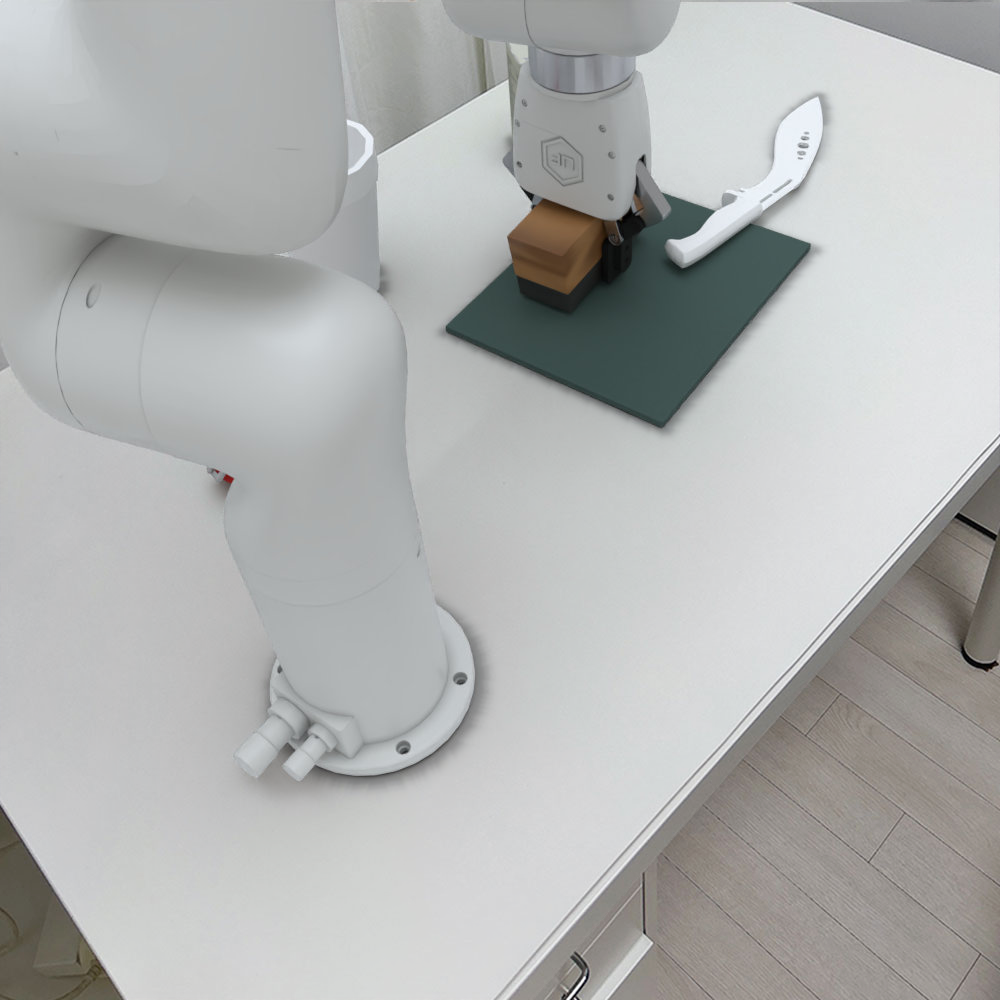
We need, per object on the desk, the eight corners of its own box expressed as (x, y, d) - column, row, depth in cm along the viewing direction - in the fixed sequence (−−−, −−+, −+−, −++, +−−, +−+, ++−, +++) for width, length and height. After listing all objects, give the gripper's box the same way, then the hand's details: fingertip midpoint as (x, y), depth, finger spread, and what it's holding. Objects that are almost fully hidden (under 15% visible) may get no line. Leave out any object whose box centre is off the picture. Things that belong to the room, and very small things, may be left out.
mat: (662, 428, 80) (662, 422, 80) (445, 331, 89) (445, 326, 88) (810, 249, 92) (811, 243, 91) (606, 178, 100) (606, 173, 100)
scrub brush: (571, 313, 87) (561, 256, 82) (518, 293, 90) (506, 236, 85) (652, 221, 92) (647, 161, 87) (600, 204, 94) (592, 145, 90)
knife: (817, 87, 106) (889, 113, 102) (814, 103, 107) (885, 129, 103) (613, 221, 92) (688, 256, 88) (613, 238, 93) (687, 273, 89)
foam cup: (421, 274, 93) (399, 138, 83) (349, 337, 89) (317, 201, 79) (337, 238, 97) (307, 104, 87) (265, 297, 93) (224, 163, 83)
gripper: (453, 48, 79) (475, 252, 93) (659, 112, 72) (650, 324, 86) (514, 2, 83) (527, 206, 97) (716, 60, 75) (699, 271, 89)
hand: (585, 259), depth 91 cm, fingers closed on scrub brush, 5 cm apart
